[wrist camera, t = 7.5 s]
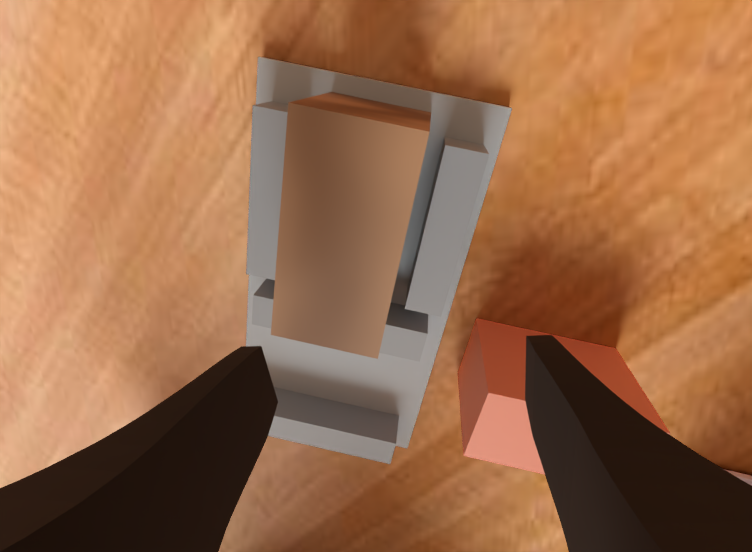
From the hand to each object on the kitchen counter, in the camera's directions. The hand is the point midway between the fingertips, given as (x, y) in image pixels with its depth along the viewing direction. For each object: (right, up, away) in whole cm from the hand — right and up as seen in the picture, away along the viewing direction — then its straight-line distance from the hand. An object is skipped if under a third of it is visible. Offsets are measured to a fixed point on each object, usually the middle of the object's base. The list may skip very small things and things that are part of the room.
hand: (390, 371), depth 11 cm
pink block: (+8, -2, +10) cm, 13 cm away
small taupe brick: (-1, +6, +7) cm, 9 cm away
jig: (-2, +2, +10) cm, 10 cm away
